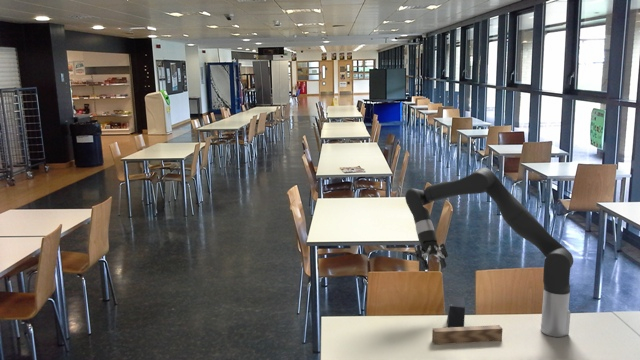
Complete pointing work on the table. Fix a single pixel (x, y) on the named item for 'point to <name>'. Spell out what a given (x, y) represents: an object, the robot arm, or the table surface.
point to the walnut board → (467, 334)
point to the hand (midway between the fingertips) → (435, 268)
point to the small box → (456, 312)
